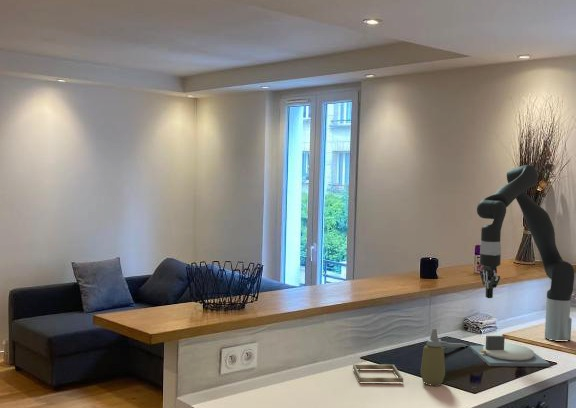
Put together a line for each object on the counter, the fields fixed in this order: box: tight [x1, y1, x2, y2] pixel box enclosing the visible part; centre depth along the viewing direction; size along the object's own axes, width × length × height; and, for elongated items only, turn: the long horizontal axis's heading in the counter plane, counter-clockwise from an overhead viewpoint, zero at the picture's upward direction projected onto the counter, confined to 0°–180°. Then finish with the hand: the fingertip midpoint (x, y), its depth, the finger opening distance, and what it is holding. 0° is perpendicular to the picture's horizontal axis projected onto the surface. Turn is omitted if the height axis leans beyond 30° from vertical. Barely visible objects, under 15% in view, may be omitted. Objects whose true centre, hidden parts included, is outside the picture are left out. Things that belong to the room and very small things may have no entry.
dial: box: [481, 335, 535, 361], centre depth 246 cm, size 19×18×6 cm
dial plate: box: [468, 345, 551, 368], centre depth 247 cm, size 22×22×1 cm
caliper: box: [438, 338, 468, 350], centre depth 254 cm, size 20×1×6 cm, turn 130°
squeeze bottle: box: [419, 328, 446, 386], centre depth 214 cm, size 8×8×18 cm
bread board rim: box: [352, 363, 404, 383], centre depth 220 cm, size 14×14×2 cm
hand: (489, 297), depth 251 cm, fingers closed
